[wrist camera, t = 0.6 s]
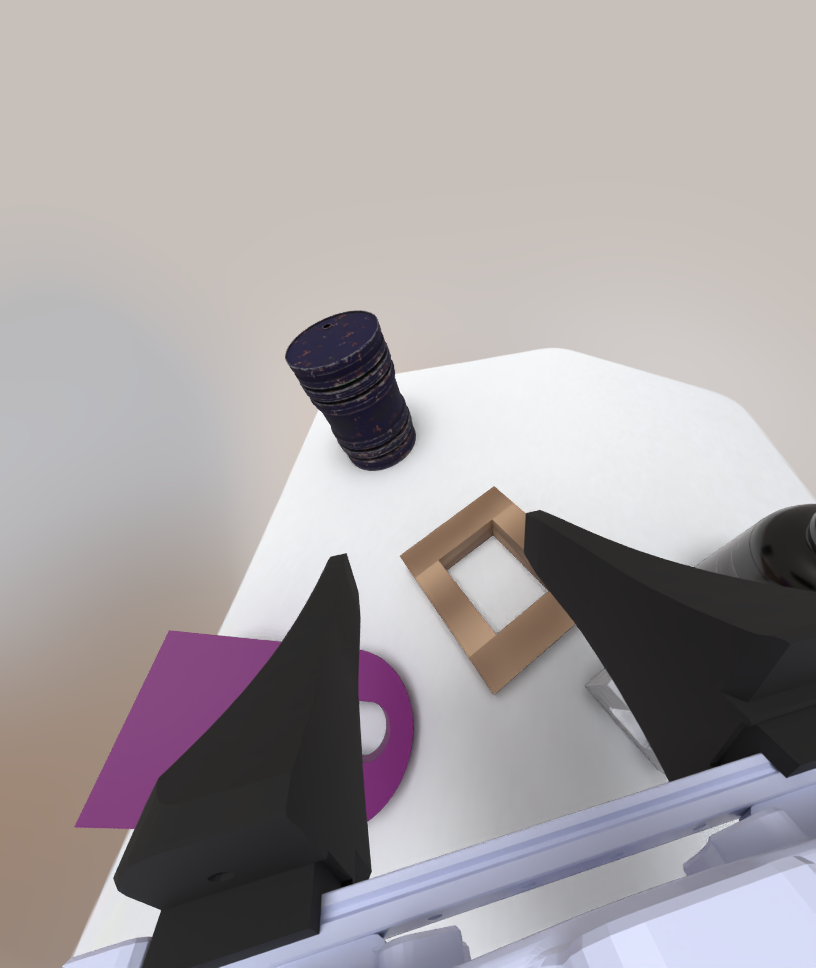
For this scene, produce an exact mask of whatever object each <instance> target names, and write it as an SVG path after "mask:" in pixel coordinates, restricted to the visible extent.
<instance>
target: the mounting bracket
mask: <svg viewBox="0 0 816 968" xmlns="http://www.w3.org/2000/svg"><path fill="white" fill-rule="evenodd" d="M280 644H281V642H278V641H268V640H258V639H248V638H238V637H229V636H219V635H208V634H199V633H188V632H179V631H169V632H168V634H167V636H166V638H165V640H164V642H163V644H162V646H161V648H160V650H159V652H158V655H157V657H156V659H155V661H154V663H153V665H152V667H151V669H150V671H149V673H148V675H147V678H146V679H145V682H144V684H143V686H142V688H141V690H140V692H139V694H138V696H137V698H136V700H135V703H134V704H133V707H132V709H131V711H130V713H129V715H128V717H127V719H126V721H125V723H124V725H123V727H122V729H121V731H120V733H119V735H118V738H117V740H116V742H115V744H114V746H113V748H112V750H111V752H110V754H109V756H108V759H107V761H106V762H105V765H104V767H103V769H102V771H101V773H100V775H99V777H98V779H97V781H96V783H95V785H94V787H93V789H92V791H91V794H90V796H89V798H88V800H87V802H86V804H85V806H84V808H83V810H82V812H81V814H80V816H79V819H78V821H77V823H76V825H75V827H82V828H118V829H119V828H121V829H135V827H136V825H137V822H138V820H139V818H140V816H141V813H142V811H143V809H144V806H145V804H146V802H147V800H148V798H149V796H150V794H151V792H152V790H153V788H154V786H155V784H156V782H157V780H158V778H159V777H160V776H161V775H162V774H163V773H164V772H165V771H166V770H167V769H168V768H169V767H170V766H171V765H173V764H174V763H175V762H176V761H177V760H178V759H179V758H180V757H181V756H182V755H183V754H184V753H185V752H186V751H187V750H188V749H189V748H190V747H191V746H192V745H193V744H194V743H195V742H196V741H197V740H198V739H199V738H200V737H201V736H202V735H203V734H204V733H205V732H206V731H207V730H208V729H209V728H210V727H211V726H212V725H213V724H214V723H215V722H216V720H217V719H218V718H219V717H220V716H221V715H222V714H223V713H224V712H225V711H226V710H227V709H228V708H229V706H230V705H231V704H232V703H233V702H234V701H235V700H236V699H237V698H238V696H239V695H240V694H241V693H242V692H243V691H244V690H245V688H246V687H247V686H248V685H249V684H250V682H251V681H252V680H253V679H254V678H255V676H256V675H257V674H258V673H259V671H260V670H261V669H262V668H263V666H264V665H265V664H266V662H267V661H268V660H269V659H270V657H271V656H272V655H273V653H274V652H275V650H276V649H277V648H278V646H279V645H280ZM358 690H359V701H369V702H375V703H377V704H379V705H380V707H381V708H382V710H383V711H384V714H385V717H386V733H385V736H384V739H383V741H382V743H381V745H380V746H379V747H378V749H377V750H375V751H374V752H373V753H371V754H369V755H365V756H362V761H363V775H364V788H365V801H366V813H367V821H369V820H370V819H372V818H373V817H374V816H375V815H376V814H377V813H379V812H380V811H381V810H382V808H383V807H384V806H385V805H386V804H387V803H388V801H389V800H390V799H391V797H392V796H393V794H394V793H395V791H396V789H397V788H398V786H399V784H400V782H401V780H402V778H403V775H404V773H405V770H406V768H407V764H408V761H409V757H410V753H411V747H412V740H413V717H412V710H411V705H410V701H409V697H408V694H407V692H406V689H405V687H404V685H403V683H402V681H401V679H400V678H399V676H398V675H397V673H396V672H395V671H394V669H393V668H392V667H391V666H390V665H389V664H388V663H387V662H385V661H384V660H383V659H381V658H380V657H378V656H376V655H374V654H372V653H370V652H367V651H363V650H359V678H358Z"/></svg>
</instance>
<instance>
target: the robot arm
mask: <svg viewBox="0 0 816 968" xmlns="http://www.w3.org/2000/svg"><path fill="white" fill-rule="evenodd" d="M524 554H525V556H526V558H527V560H528V561H529V563H530V565H531V566H532V568H533V570H534V571H535V573H536V574H537V576H538V577H539V578H540V580H541V581H542V582H543V584H544V585H545V586H546V587H547V589H548V590H549V591H550V593H551V594H552V595H553V596H554V598H555V599H556V600H557V601H558V603H559V604H560V605H561V606H562V608H563V609H564V610H565V611H566V613H567V614H568V615H569V616H570V618H571V619H572V620H573V621H574V623H575V624H576V625H577V627H578V628H579V629H580V631H581V632H582V634H583V635H584V636H585V638H586V640H587V641H588V643H589V644H590V646H591V647H592V649H593V650H594V652H595V653H596V655H597V656H598V658H599V659H600V661H601V663H602V664H603V666H604V667H605V669H606V671H607V672H608V674H609V676H610V677H611V679H612V680H613V682H614V684H615V685H616V687H617V688H618V690H619V692H620V694H621V695H622V697H623V699H624V700H625V702H626V704H627V706H628V707H629V709H630V711H631V712H632V714H633V716H634V718H635V719H636V721H637V723H638V724H639V726H640V728H641V730H642V732H643V734H644V735H645V737H646V739H647V741H648V743H649V745H650V746H651V748H652V750H653V752H654V754H655V756H656V757H657V759H658V761H659V763H660V765H661V767H662V769H663V771H664V773H665V774H666V776H667V778H668V780H669V783H666V784H663V785H659V786H656V787H653V788H650V789H647V790H644V791H641V792H638V793H635V794H631V795H628V796H625V797H622V798H619V799H616V800H613V801H610V802H607V803H604V804H600V805H597V806H594V807H591V808H588V809H585V810H582V811H579V812H576V813H573V814H569V815H566V816H563V817H560V818H557V819H554V820H551V821H548V822H545V823H542V824H538V825H535V826H532V827H529V828H526V829H523V830H520V831H517V832H514V833H511V834H507V835H504V836H501V837H498V838H495V839H492V840H489V841H486V842H483V843H480V844H476V845H473V846H470V847H467V848H464V849H461V850H458V851H455V852H452V853H449V854H445V855H442V856H439V857H436V858H433V859H430V860H427V861H424V862H421V863H418V864H414V865H411V866H408V867H405V868H402V869H399V870H396V871H393V872H390V873H387V874H383V875H380V876H377V877H374V878H371V879H369V877H370V874H371V872H372V870H371V859H370V848H369V837H368V825H367V813H366V801H365V788H364V775H363V761H362V746H361V730H360V712H359V690H358V678H359V649H360V605H359V593H358V589H357V586H356V582H355V579H354V576H353V573H352V569H351V566H350V563H349V560H348V556H347V553H345V554H341V555H336V556H332V557H330V558H329V560H328V562H327V564H326V566H325V568H324V570H323V572H322V574H321V576H320V578H319V580H318V582H317V584H316V586H315V588H314V590H313V592H312V593H311V595H310V597H309V599H308V601H307V603H306V604H305V606H304V608H303V609H302V611H301V613H300V614H299V616H298V618H297V619H296V621H295V622H294V624H293V626H292V627H291V629H290V630H289V632H288V633H287V635H286V636H285V638H284V639H283V641H282V642H281V644H280V645H279V646H278V648H277V649H276V650H275V652H274V653H273V655H272V656H271V657H270V659H269V660H268V661H267V662H266V664H265V665H264V666H263V668H262V669H261V670H260V671H259V673H258V674H257V675H256V676H255V678H254V679H253V680H252V681H251V682H250V684H249V685H248V686H247V687H246V688H245V690H244V691H243V692H242V693H241V694H240V695H239V696H238V698H237V699H236V700H235V701H234V702H233V703H232V704H231V705H230V706H229V708H228V709H227V710H226V711H225V712H224V713H223V714H222V715H221V716H220V717H219V718H218V719H217V720H216V722H215V723H214V724H213V725H212V726H211V727H210V728H209V729H208V730H207V731H206V732H205V733H204V734H203V735H202V736H201V737H200V738H199V739H198V740H197V741H196V742H195V743H194V744H193V745H192V746H191V747H190V748H189V749H188V750H187V751H186V752H185V753H184V754H183V755H182V756H181V757H180V758H179V759H178V760H177V761H176V762H175V763H174V764H173V765H171V766H170V767H169V768H168V769H167V770H166V771H165V772H164V773H163V774H162V775H161V776H160V777H159V778H158V780H157V782H156V784H155V786H154V788H153V790H152V792H151V794H150V796H149V798H148V800H147V802H146V804H145V806H144V809H143V811H142V813H141V816H140V818H139V820H138V822H137V825H136V827H135V829H134V832H133V834H132V836H131V838H130V841H129V843H128V845H127V848H126V850H125V852H124V854H123V857H122V859H121V861H120V864H119V866H118V868H117V870H116V873H115V875H114V878H113V879H114V882H115V884H116V887H117V889H118V891H119V892H121V893H122V894H124V895H126V896H127V897H130V898H132V899H135V900H137V901H140V902H142V903H145V904H147V905H150V906H152V907H155V908H157V909H160V910H161V913H160V916H159V919H158V922H157V925H156V927H155V930H154V933H153V936H152V937H140V938H135V939H130V940H126V941H123V942H120V943H117V944H114V945H111V946H107V947H104V948H101V949H98V950H95V951H92V952H89V953H85V954H82V955H79V956H76V957H73V958H71V959H70V960H69V961H68V962H66V963H65V964H64V965H63V967H62V968H816V592H813V591H807V590H801V589H795V588H789V587H783V586H777V585H771V584H765V583H760V582H755V581H751V580H746V579H741V578H736V577H731V576H727V575H723V574H718V573H714V572H710V571H706V570H702V569H698V568H694V567H691V566H687V565H683V564H679V563H676V562H673V561H669V560H666V559H663V558H659V557H656V556H653V555H650V554H647V553H644V552H641V551H638V550H635V549H632V548H630V547H627V546H624V545H622V544H619V543H617V542H614V541H611V540H609V539H606V538H604V537H602V536H599V535H597V534H594V533H592V532H590V531H587V530H585V529H583V528H581V527H578V526H576V525H574V524H572V523H569V522H567V521H565V520H563V519H560V518H558V517H556V516H554V515H551V514H549V513H546V512H544V511H541V510H538V511H534V512H529V513H526V517H525V537H524ZM738 818H739V822H737V823H735V824H733V825H731V826H729V827H727V828H725V829H723V830H721V831H719V832H717V833H715V834H713V835H711V836H710V837H709V840H708V843H707V845H706V846H705V847H704V848H703V849H702V850H701V851H700V852H699V853H698V854H696V855H695V856H694V857H692V858H691V859H689V860H688V861H687V862H685V863H684V864H683V869H684V872H685V873H686V875H687V876H686V877H683V878H680V879H677V880H674V881H671V882H668V883H665V884H662V885H659V886H657V887H654V888H651V889H648V890H645V891H643V892H640V893H637V894H634V895H631V896H629V897H626V898H623V899H621V900H618V901H616V902H613V903H610V904H608V905H605V906H602V907H600V908H597V909H594V910H592V911H589V912H587V913H584V914H582V915H579V916H577V917H574V918H572V919H569V920H567V921H565V922H562V923H560V924H557V925H555V926H552V927H550V928H547V929H545V930H542V931H540V932H538V933H535V934H533V935H530V936H528V937H526V938H523V939H521V940H518V941H516V942H514V943H511V944H509V945H506V946H504V947H502V948H499V949H497V950H494V951H492V952H490V953H487V954H485V955H482V956H480V957H477V958H475V959H473V960H471V957H470V951H469V947H468V946H467V944H466V943H465V942H463V941H462V936H461V931H460V930H459V929H458V927H457V926H450V927H445V928H440V929H434V930H429V931H424V932H419V933H414V934H409V935H406V936H402V937H399V938H396V939H393V940H391V941H389V942H386V941H385V939H388V938H391V937H393V936H396V935H399V934H402V933H405V932H408V931H411V930H414V929H417V928H420V927H423V926H426V925H429V924H431V923H434V922H437V921H440V920H443V919H446V918H449V917H452V916H455V915H458V914H461V913H464V912H467V911H469V910H472V909H475V908H478V907H481V906H484V905H487V904H490V903H493V902H496V901H499V900H502V899H505V898H507V897H510V896H513V895H516V894H519V893H522V892H525V891H528V890H531V889H534V888H537V887H540V886H543V885H545V884H548V883H551V882H554V881H557V880H560V879H563V878H566V877H569V876H572V875H575V874H578V873H581V872H583V871H586V870H589V869H592V868H595V867H598V866H601V865H604V864H607V863H610V862H613V861H616V860H619V859H621V858H624V857H627V856H630V855H633V854H636V853H639V852H642V851H645V850H648V849H651V848H654V847H657V846H659V845H662V844H665V843H668V842H671V841H674V840H677V839H680V838H683V837H686V836H689V835H692V834H694V833H697V832H700V831H703V830H706V829H709V828H712V827H715V826H718V825H721V824H724V823H727V822H730V821H732V820H735V819H738Z"/></svg>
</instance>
